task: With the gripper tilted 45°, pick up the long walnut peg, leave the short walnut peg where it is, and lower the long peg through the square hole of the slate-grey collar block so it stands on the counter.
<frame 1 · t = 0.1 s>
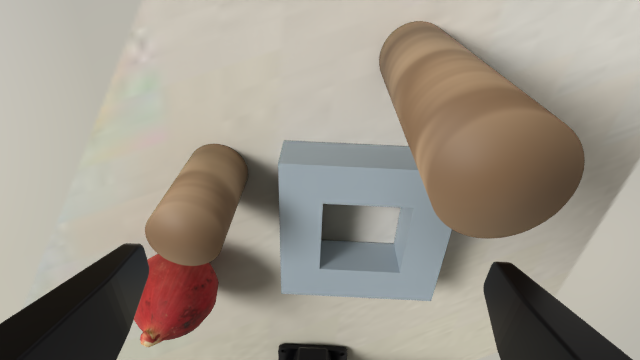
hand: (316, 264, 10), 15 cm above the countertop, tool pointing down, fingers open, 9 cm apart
onion: (192, 253, 30), on the countertop
walnut peg short: (218, 170, 25), on the countertop
walnut peg long: (414, 59, 21), on the countertop
collar block: (360, 212, 27), on the countertop
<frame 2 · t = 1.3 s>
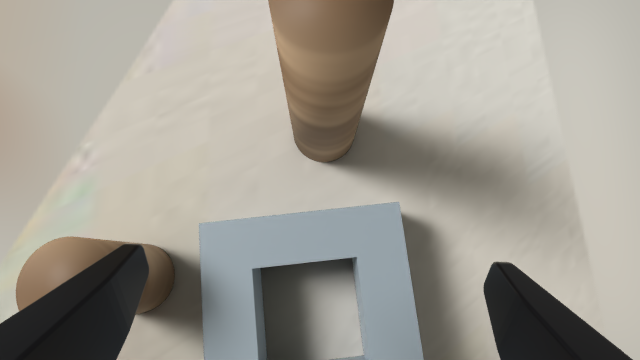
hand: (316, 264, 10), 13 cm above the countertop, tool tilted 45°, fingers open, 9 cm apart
walnut peg short: (141, 277, 22), on the countertop
walnut peg long: (324, 132, 25), on the countertop
collar block: (311, 310, 22), on the countertop
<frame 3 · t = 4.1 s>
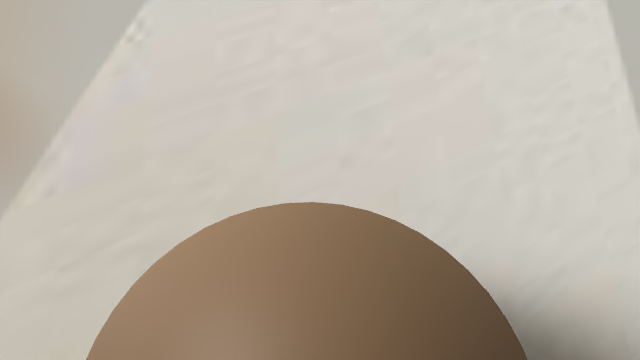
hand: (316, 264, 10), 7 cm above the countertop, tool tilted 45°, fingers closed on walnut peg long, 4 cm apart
walnut peg long: (315, 297, 16), on the countertop, touching gripper
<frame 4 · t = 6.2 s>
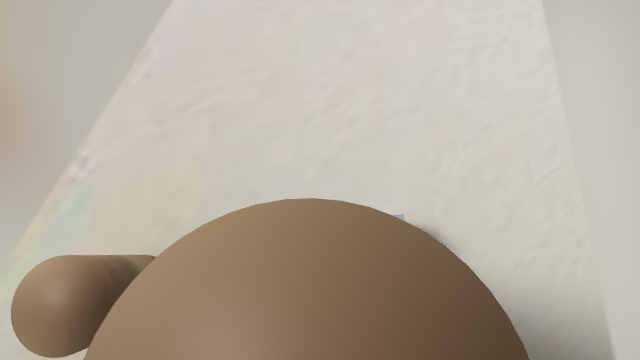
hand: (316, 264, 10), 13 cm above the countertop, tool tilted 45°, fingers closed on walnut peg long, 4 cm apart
walnut peg short: (140, 289, 22), on the countertop
walnut peg long: (315, 296, 16), point 7 cm above the countertop, touching gripper
when the fingers open (7 cm above the countertop, at t = 8.2 s): walnut peg long stays where it is, resting in collar block.
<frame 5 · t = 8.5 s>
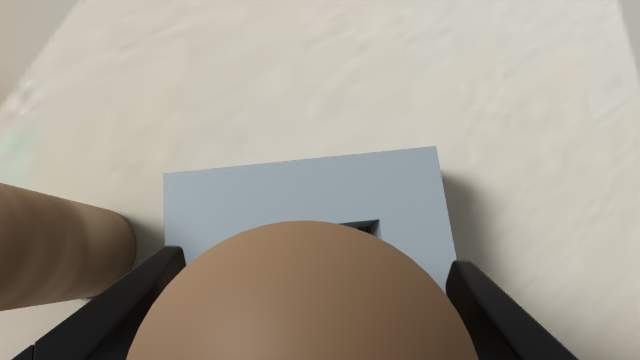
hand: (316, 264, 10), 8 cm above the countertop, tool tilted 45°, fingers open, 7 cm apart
walnut peg short: (92, 251, 17), on the countertop
walnut peg long: (314, 296, 17), resting in collar block
collar block: (315, 295, 17), on the countertop
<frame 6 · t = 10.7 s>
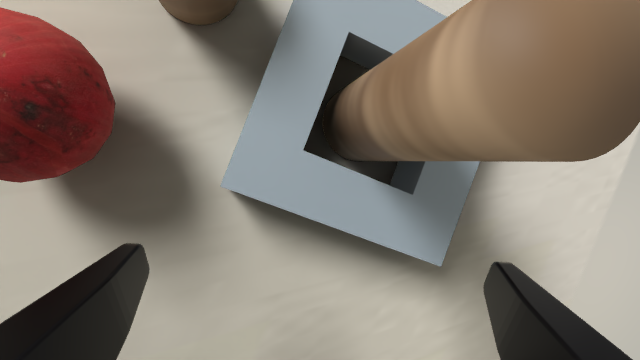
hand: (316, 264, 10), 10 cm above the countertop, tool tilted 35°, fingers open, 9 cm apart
onion: (68, 113, 17), on the countertop
walnut peg long: (359, 123, 20), resting in collar block
collar block: (360, 122, 20), on the countertop
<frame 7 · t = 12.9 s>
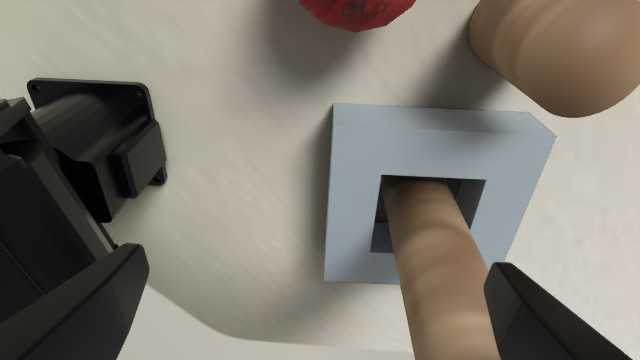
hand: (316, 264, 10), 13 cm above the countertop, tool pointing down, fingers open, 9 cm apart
walnut peg short: (509, 24, 18), on the countertop
walnut peg long: (413, 188, 24), resting in collar block
collar block: (414, 189, 24), on the countertop
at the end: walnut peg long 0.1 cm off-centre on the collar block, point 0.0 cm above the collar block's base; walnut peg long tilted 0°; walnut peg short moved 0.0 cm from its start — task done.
